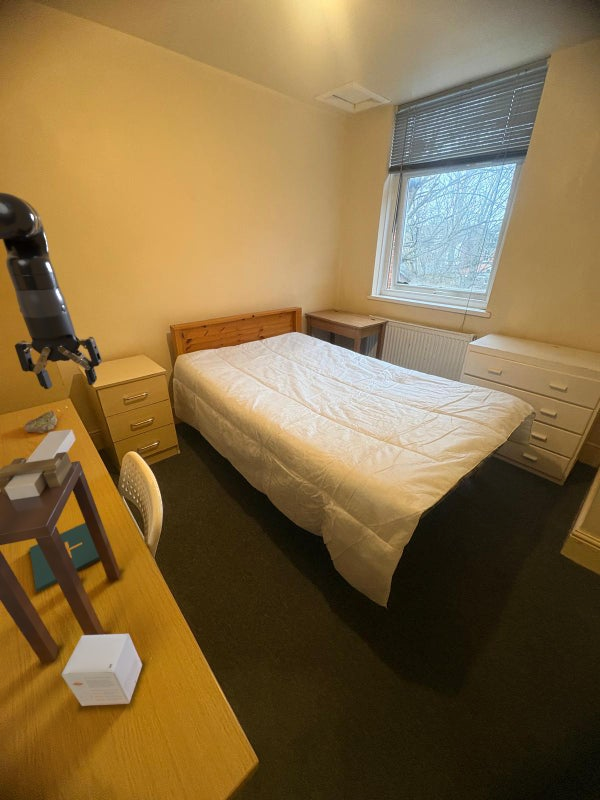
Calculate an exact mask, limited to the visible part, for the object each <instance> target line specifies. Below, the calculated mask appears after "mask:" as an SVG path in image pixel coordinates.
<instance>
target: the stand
mask: <svg viewBox="0 0 600 800" xmlns="http://www.w3.org/2000/svg"><path fill="white" fill-rule="evenodd" d="M26 461H27V459H26V457H19V458H14V459H13V460H12V461H11V462H10V463H9V464H6V465H3V466H2V467H1V468H0V546H5V545H9V544H14V543H19V542H24V541H29V540H35V541H36V543H37V544H38V545H39V547H40V549H41V551H42V553H43V555H44V557H45V559H46V561H47V563H48V565H49V567H50V568H51V570H52V572H53V574H54V576H55V578H56V580H57V582H56V583H57V584H58V587H59V588H60V590H61V592H62V594H63V596H64V598H65V600H66V602H67V604H68V606H69V607H70V610H71V612H72V614H73V616H74V617H75V620H76V621H77V623H78V626H79V627H80V629H81V631H82V633H83V635H104V634H106V633H105V630H104V628H103V626H102V624H101V621H100V619H99V617H98V615H97V613H96V611H95V608H94V606H93V604H92V602H91V599H90V598H89V596H88V593H87V591H86V589H85V586H84V584H83V581H82V580H81V577H80V575H79V573H78V571H76V568H75V566H74V564H73V562H72V560H71V557H70V555H69V553H68V551H67V549H66V547H65V544H64V542H63V540H62V538H61V536H60V534H61V533H60V532H59V528H58V527H57V523H58V522H59V519H60V517H61V515H62V513H63V511H64V509H65V507H66V505H67V502H68V501H69V499H70V497H71V494H72V493H73V495H74V497H75V500H76V502H77V506H78V508H79V510H80V512H81V515H82V518H83V520H84V523H86V525H87V528H88V530H89V533H90V535H91V538H92V540H93V543H94V545H95V548H96V550H97V553H98V555H99V558H100V560H99V561H100V563H101V565H102V568H103V570H104V573H105V576H106V578H107V580H108V582H114V581H117V580H119V579H120V576H121V575H120V574H121V571H120V568H119V564H118V563H117V559H116V556H115V554H114V551H113V548H112V546H111V542H110V540H109V537H108V534H107V532H106V529H105V527H104V524H103V521H102V518H101V515H100V513H99V510H98V507H97V504H96V502H95V499H94V496H93V493H92V491H91V488H90V486H89V483H88V480H87V477H86V475H85V471H84V469H83V466H82V463H81V461H80V460H77V461H71V459H70V457H69V453H68V452H61V453H57V454H56V455H55V457H54V458H53V459H48V460H41V461H34V462H27V463H25V462H26ZM43 471H45V472H44V477H45V479H46V481H47V485H46V486H45V488H44V489H43V491H42V493H41V494H40V496H34V497H28V498H21V499H15V500H10V498H9V496H8V494H7V492H6V490H5V487H6V486H7V484H8V483H9V482H10V481H11V479H12V478H13V477H14V476H16V475H23V474H29V473H36V472H43ZM0 602H1V604H2V606H3V607H4V608H5V610H6V611H7V613H8V614H9V616H10V617H11V619H12V620H13V622H14V623H15V626H17V628H18V629H19V631H20V633H21V634H22V635H23V637H24V639H25V640H26V641H27V643H28V645H29V646H30V648H31V649H32V650H33V652H34V653H35V655H36V657H37V658H38V659H39V661H40V662H41V664H42V665H45V664H48V663H51V662H55V661H56V659H57V656H58V653H59V650H60V648H59V646H58V645H57V643H56V642H55V640H54V638H53V636H52V635H51V633H50V631H49V630H48V628H47V626H46V625H45V623H44V621H43V620H42V618H41V616H40V614H39V613H38V611H37V609H36V608H35V606H34V605H33V602H32V601H31V599H30V597H29V596H28V594H27V593H26V591H25V589H24V588H23V586H22V584H21V583H20V581H19V579H18V578H17V576H16V575H15V573H14V570H13V569H12V567H11V566H10V564H9V562H8V561H7V558H5V556H4V554H3V552H2V551H1V550H0Z"/></svg>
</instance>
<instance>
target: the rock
mask: <svg viewBox="0 0 600 800" xmlns="http://www.w3.org/2000/svg"><path fill="white" fill-rule="evenodd" d="M57 422H58V418H57V416H56V413H54V411H53V410H49V411H47V412H44V413H43V414H41V415H39V416H38V417H35V418H34V419H31V420H29V421H27V422H26V423H25V425H24V427H23V428H24V430H25V431H26V432H27V433H39V434H46V433H49V432H51V431H53V429H54V428H55V427H56V426H57Z"/></svg>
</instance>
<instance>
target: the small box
mask: <svg viewBox="0 0 600 800" xmlns="http://www.w3.org/2000/svg"><path fill="white" fill-rule="evenodd" d="M142 667H143V663H142V661H141V658H140V657H139V654H138V651H137V648H136V647H135V645H134V642H133V640H132V638H131V636H130V634H129V633H127V632H126V633H105V634H104V635H84V634H82V635H81V636H80V638H79V640H78V641H77V644H76V646H75V647H74V649H73V652H72V653H71V655H70V657H69V659H68V661H67V663H66V664H65V667H63V670H62V672H61V673H60V674H61V677H62V678H63V680H64V682H65V683H66V684H67V686H68V688H69V689H70V691H71V692H72V693H73V695H74V697H75V698H76V699H77V702H79V704H80V706H82V707H86V706H106V705H128V704H130V702H131V700H132V697H133V694H134V691H135V688H136V685H137V682H138V679H139V677H140V673H141V672H142V671H141V670H142Z"/></svg>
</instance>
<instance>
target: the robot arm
mask: <svg viewBox="0 0 600 800" xmlns="http://www.w3.org/2000/svg"><path fill="white" fill-rule="evenodd" d="M0 240H2V243H3V246H4V249H5V251H6V260H5V265H6V269H7V273H8V274H9V275H8V276H9V278H10V281H11V284H12V287H13V289H14V292H15V296H16V302H17V304H18V309H19V311H20V313H21V315H22V318H23V320H24V324H25V326H26V329H27V332H28V334H29V336H30V338H31V341H26V340H21V341H19V342H17V343H15V344H14V349H15V351H16V354H17V355H16V356H17V358H18V361H19V365H20V367H21V370H22V371H23V372H25V373H27V372H31V373H34V374H35V375H36V378H37V380H38V383H39V386H40V387H42V388H44V390H50V389H51V388H52V387H53V382H52V380H51V378H50V374H49V372H48V370H47V369H46V367H47V365H48V364H49V362H50V361H51V363H56V362H59V361H63V362H69V361H70V360H71V361H72V362H73V363H75V364H78V365H79V366H80V367H82V368H83V369H84V374H85V378H86V380H87V383H88V384H87V385H89V386H93V385H95V383H96V381H97V380H98V376H97V373H96V369H95V367H98V366H99V365H100V364H101V363H102V362H103V359H102V357H101V353H100V351H99V348H98V345H97V341H96V340H95V338H94V337H93V336H89V337H87V338H78V337H77V335H76V331H75V327H74V325H73V321H72V318H71V315H70V311H69V308H68V305H67V301H66V299H65V296H64V294H63V292H62V290H61V287H60V283H59V280H58V278H57V274H56V271H55V268H54V266H53V263H52V260H51V258H50V250H49V245H48V241H47V235H46V231H45V227H44V224H43V221H42V218H41V216H40V214H39V212H38V211H37V209H36V208H35V207H34V206H33V205H32V204H31V203H30V202H28V201H26V200H25V199H24V198H21V197H18V196H16V195H13V194H11V193H7V192H0ZM80 346H82V347H83V349H85V350H87V353H88V356H89V358H88V357H87V356H86V354H85V353H83V351H81V350H80V349H79V348H80ZM33 350H34V351H36V352H37V353H38V354H39V357H38V358H37V360H36V364H35V363H34V360H33V357H32V353H31V352H32V351H33Z"/></svg>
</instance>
